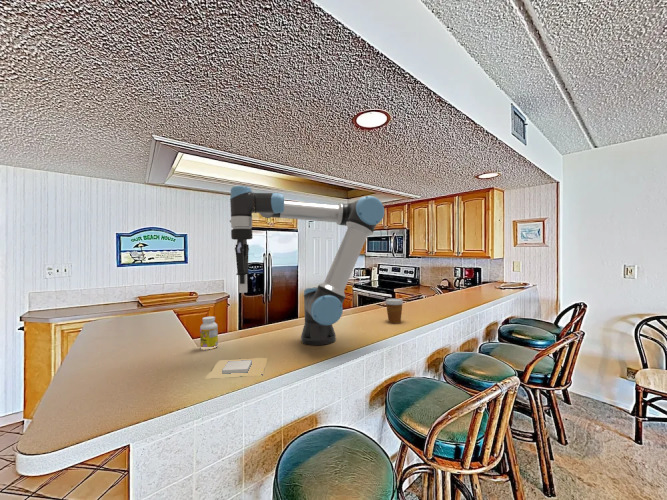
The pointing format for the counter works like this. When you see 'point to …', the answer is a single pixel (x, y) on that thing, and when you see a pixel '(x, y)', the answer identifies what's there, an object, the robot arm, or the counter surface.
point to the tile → (237, 367)
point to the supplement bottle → (209, 332)
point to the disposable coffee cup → (394, 310)
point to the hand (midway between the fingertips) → (243, 292)
